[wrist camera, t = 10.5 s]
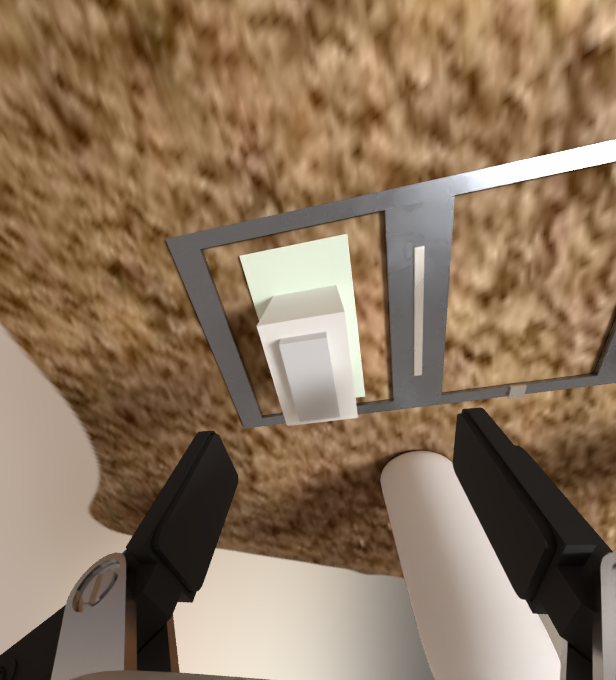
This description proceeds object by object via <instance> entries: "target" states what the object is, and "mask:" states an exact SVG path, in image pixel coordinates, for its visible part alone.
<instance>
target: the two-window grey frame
mask: <svg viewBox="0 0 616 680" xmlns="http://www.w3.org/2000/svg"><path fill="white" fill-rule="evenodd" d="M613 161H616V140H612V141H608V142H603V143H599V144H594V145H590V146H585V147H581V148H576V149H572V150H567V151H563V152H558V153H554V154H549V155H544V156H540V157H535V158H531V159H526V160H522V161H517V162H513V163H508V164H504V165H499V166H495V167H490V168H486V169H481V170H477V171H472V172H468V173H463V174H459V175H454V176H449V177H445V178H440V179H436V180H431V181H427V182H422V183H418V184H413V185H409V186H404V187H400V188H395V189H391V190H386V191H382V192H377V193H373V194H368V195H364V196H359V197H354V198H350V199H345V200H341V201H336V202H332V203H327V204H323V205H318V206H314V207H309V208H305V209H300V210H296V211H291V212H287V213H282V214H278V215H273V216H269V217H264V218H259V219H255V220H250V221H246V222H241V223H237V224H232V225H228V226H223V227H219V228H214V229H210V230H205V231H201V232H196V233H192V234H187V235H183V236H178V237H174V238H169V239H166V242H167V244H168V247H169V249H170V251H171V254H172V256H173V258H174V261H175V263H176V266H177V268H178V270H179V273H180V275H181V278H182V280H183V282H184V285H185V287H186V289H187V292H188V294H189V297H190V299H191V301H192V304H193V306H194V309H195V311H196V313H197V316H198V318H199V321H200V323H201V325H202V328H203V330H204V332H205V335H206V337H207V340H208V342H209V344H210V347H211V349H212V352H213V354H214V356H215V359H216V361H217V363H218V366H219V368H220V371H221V373H222V375H223V378H224V380H225V383H226V385H227V387H228V390H229V392H230V394H231V397H232V399H233V402H234V404H235V406H236V409H237V411H238V414H239V416H240V418H241V421H242V423H243V425H244V428H252V427H260V426H268V425H276V424H285V423H286V421H285V418H284V415H283V413H280V414H272V415H264V416H263V415H262V413H261V410H260V407H259V404H258V402H257V399H256V396H255V393H254V391H253V388H252V385H251V382H250V380H249V377H248V374H247V371H246V369H245V366H244V363H243V360H242V358H241V355H240V352H239V349H238V347H237V344H236V341H235V338H234V336H233V333H232V330H231V327H230V325H229V322H228V319H227V316H226V314H225V311H224V308H223V305H222V303H221V300H220V297H219V294H218V292H217V289H216V286H215V283H214V280H213V278H212V275H211V272H210V269H209V267H208V264H207V261H206V258H205V256H204V253H203V250H202V249H204V248H208V247H213V246H218V245H223V244H227V243H232V242H237V241H241V240H246V239H251V238H255V237H260V236H265V235H270V234H274V233H279V232H284V231H288V230H293V229H298V228H303V227H307V226H312V225H317V224H321V223H326V222H331V221H335V220H340V219H345V218H350V217H354V216H359V215H364V214H368V213H373V212H378V211H383V210H384V220H385V242H386V263H387V285H388V306H389V328H390V349H391V370H392V392H393V399H390V400H382V401H374V402H366V403H359V404H356V406H357V414H366V413H374V412H382V411H391V410H399V409H407V408H415V407H423V406H431V405H439V404H448V403H456V402H464V401H472V400H480V399H488V398H497V397H505V396H507V398H508V399H510V398H518V397H524V395H525V394H529V393H537V392H545V391H554V390H562V389H570V388H578V387H586V386H594V385H603V384H611V383H616V318H615V321H614V323H613V326H612V328H611V331H610V333H609V336H608V338H607V341H606V343H605V346H604V349H603V351H602V354H601V356H600V359H599V361H598V364H597V366H596V369H595V371H594V374H586V375H578V376H570V377H562V378H554V379H547V380H539V381H531V382H523V383H515V384H507V385H500V386H492V387H484V388H476V389H468V390H460V391H453V392H445V393H442V380H443V365H444V350H445V335H446V320H447V304H448V289H449V274H450V259H451V244H452V229H453V213H454V198H455V195H458V194H463V193H467V192H472V191H477V190H481V189H486V188H491V187H496V186H500V185H505V184H510V183H514V182H519V181H524V180H528V179H533V178H538V177H543V176H547V175H552V174H557V173H561V172H566V171H571V170H576V169H580V168H585V167H590V166H594V165H599V164H604V163H608V162H613Z"/></svg>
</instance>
